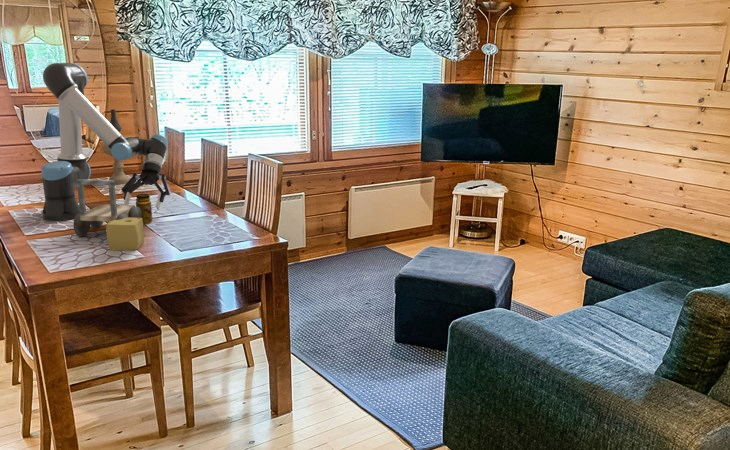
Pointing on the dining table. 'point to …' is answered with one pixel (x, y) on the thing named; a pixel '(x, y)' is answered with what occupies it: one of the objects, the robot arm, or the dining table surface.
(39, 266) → the dining table surface
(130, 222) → the cheese
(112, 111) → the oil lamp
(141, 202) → the condiment
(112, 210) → the trolley
